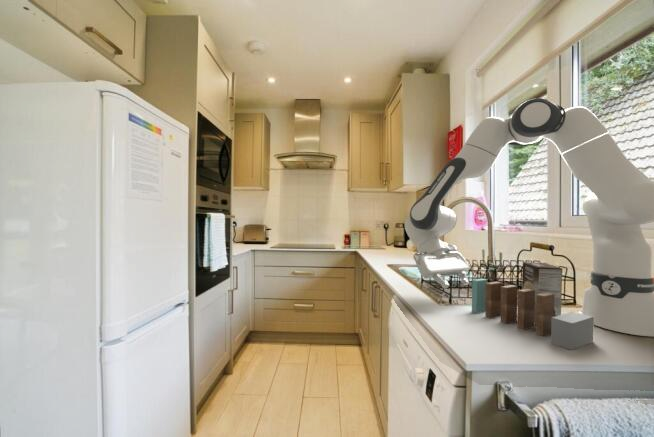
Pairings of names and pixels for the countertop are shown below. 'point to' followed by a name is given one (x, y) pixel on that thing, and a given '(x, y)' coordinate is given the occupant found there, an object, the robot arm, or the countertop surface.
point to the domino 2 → (493, 299)
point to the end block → (572, 330)
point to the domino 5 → (544, 313)
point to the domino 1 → (479, 295)
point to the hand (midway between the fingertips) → (456, 285)
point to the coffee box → (543, 282)
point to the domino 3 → (509, 303)
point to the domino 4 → (526, 308)
